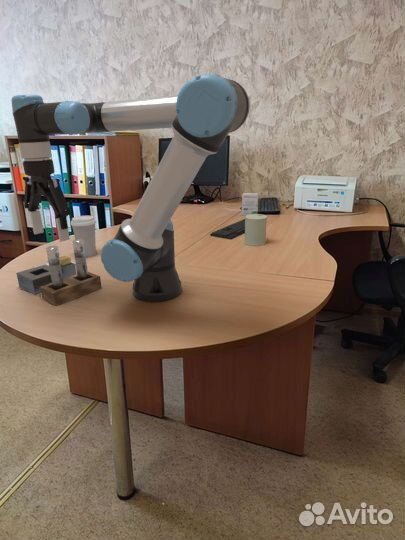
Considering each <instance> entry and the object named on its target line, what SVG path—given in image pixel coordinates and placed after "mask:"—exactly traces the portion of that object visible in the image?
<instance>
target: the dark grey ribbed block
mask: <svg viewBox="0 0 405 540" xmlns="http://www.w3.org/2000/svg"><path fill="white" fill-rule="evenodd" d="M241 235H245V218H244V219H241V220H239V221H236V222H234V223H231V224H229V225H226V226H224V227H222V228H219V229H217V230H214V231H212V232H211V233H210V234H209V236H210V237H214V238H219V239H225V240H234V239H236V238H237V237H238V238H239V236H241Z"/></svg>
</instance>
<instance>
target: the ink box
mask: <svg viewBox="0 0 405 540" xmlns="http://www.w3.org/2000/svg"><path fill="white" fill-rule="evenodd" d="M241 196H242V197H241V202H242V203H241V216H243V217H245V216H246V215H249V214H259V213H258V212H259V209H258V208H259V193H255V192H254V193H253V192H252V193H249V192H247V193H246V192H243V193H242V195H241Z"/></svg>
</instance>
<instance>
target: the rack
mask: <svg viewBox="0 0 405 540" xmlns="http://www.w3.org/2000/svg"><path fill="white" fill-rule="evenodd" d="M63 282H64V287H63V288H61V289H58V290H54V289H53V286H52V283H50V284H47V285H44V286H41V287H40V290H41V293H40V295H41V299H42V300H44V301H45V302H47V303H49V304H51V305H53V306H55V307H56V306H60V305H61V304H64V303H66V302H69V301H72V300H73V299H76V298H79V297H83V296H85V295H87V294H89V293H92V292H94V291H97V290H99V289H102V280H101V275H99V274H95V273H93V272H90V271H88V279H86V280H83V281H79V280H78V276H77V273H76V275H73V276H70V277H68V278H65V279H63Z"/></svg>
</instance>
